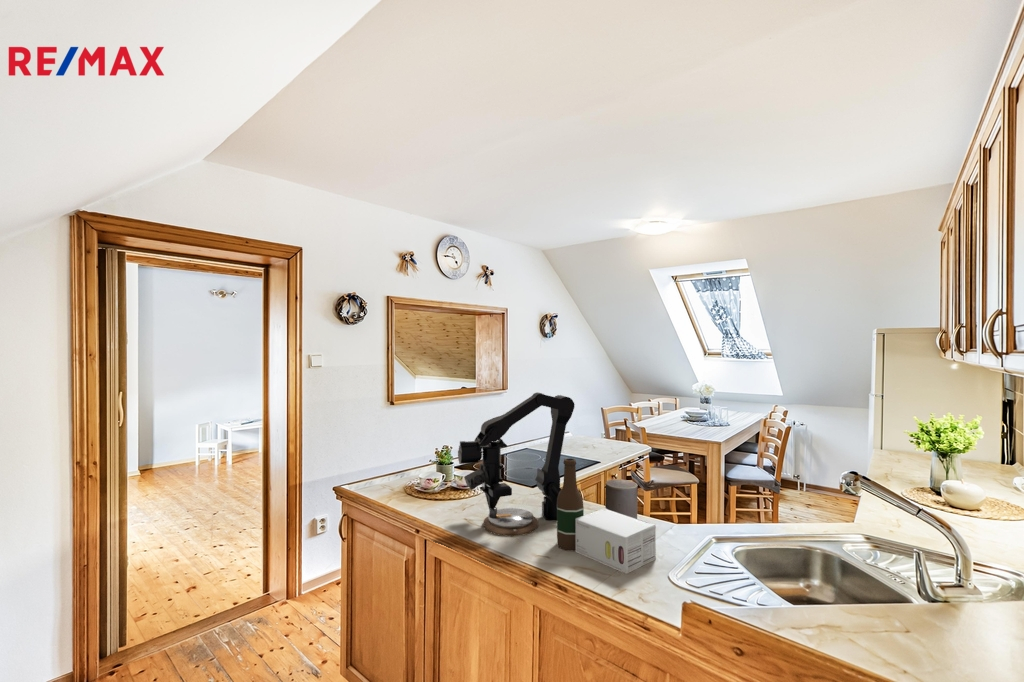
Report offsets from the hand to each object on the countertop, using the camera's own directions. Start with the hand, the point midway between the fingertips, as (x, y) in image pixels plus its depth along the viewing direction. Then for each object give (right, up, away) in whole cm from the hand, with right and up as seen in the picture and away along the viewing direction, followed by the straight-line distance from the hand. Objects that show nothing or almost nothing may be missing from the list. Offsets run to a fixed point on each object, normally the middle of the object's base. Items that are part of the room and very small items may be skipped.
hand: (491, 511), depth 152 cm
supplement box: (+34, -4, -23) cm, 41 cm away
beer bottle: (+23, -4, -17) cm, 29 cm away
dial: (+6, -2, -1) cm, 7 cm away
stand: (+6, -4, -1) cm, 7 cm away
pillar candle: (+40, -4, -4) cm, 40 cm away
